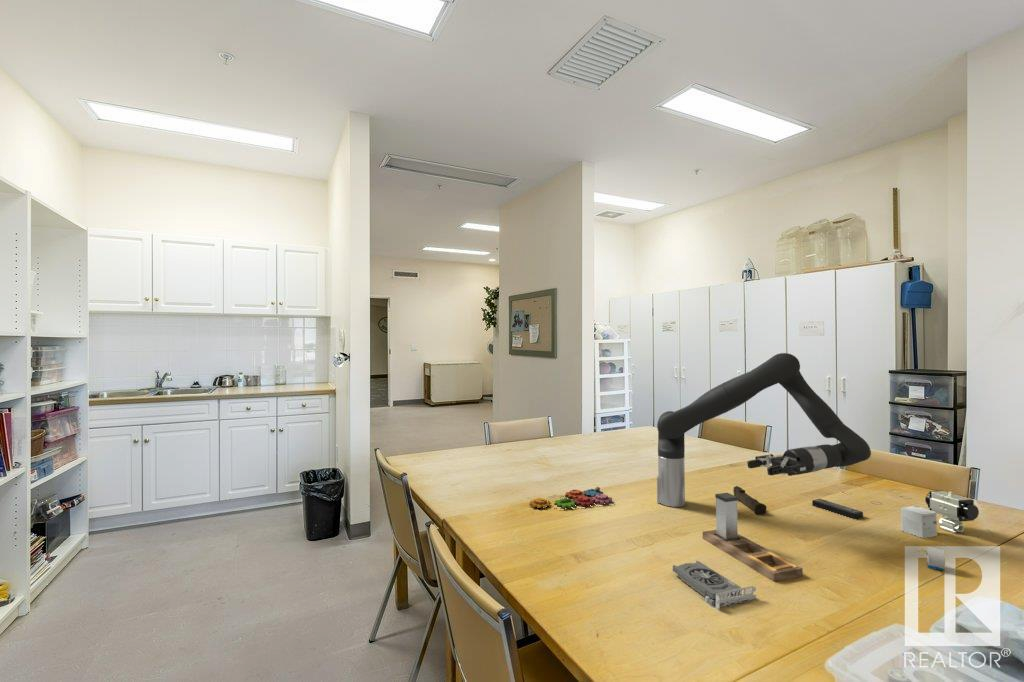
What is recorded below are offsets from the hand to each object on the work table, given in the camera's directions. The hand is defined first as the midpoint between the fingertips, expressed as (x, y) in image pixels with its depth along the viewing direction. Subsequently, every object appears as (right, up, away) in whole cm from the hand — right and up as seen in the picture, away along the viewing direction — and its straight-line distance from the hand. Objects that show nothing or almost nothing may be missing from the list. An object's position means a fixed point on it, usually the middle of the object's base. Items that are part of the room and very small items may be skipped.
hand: (758, 468), depth 136 cm
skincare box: (+51, -21, +3) cm, 55 cm away
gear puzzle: (-52, -23, +34) cm, 66 cm away
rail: (-8, -21, -10) cm, 25 cm away
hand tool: (+11, -22, +28) cm, 37 cm away
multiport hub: (+39, -21, +22) cm, 49 cm away
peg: (-10, -21, -2) cm, 24 cm away
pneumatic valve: (+62, -21, +5) cm, 65 cm away
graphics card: (-25, -22, -26) cm, 42 cm away
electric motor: (+36, -21, -18) cm, 45 cm away
